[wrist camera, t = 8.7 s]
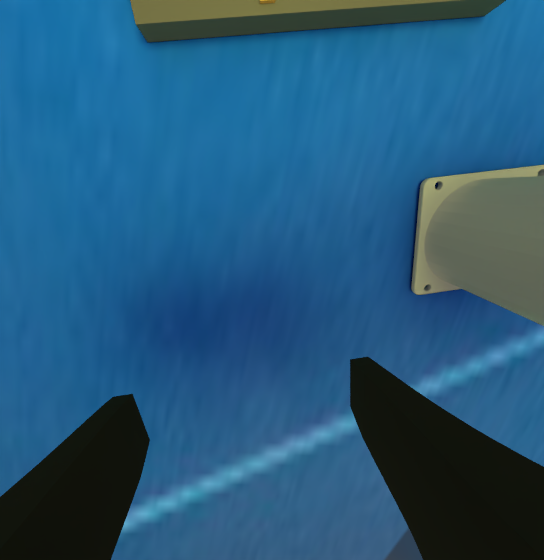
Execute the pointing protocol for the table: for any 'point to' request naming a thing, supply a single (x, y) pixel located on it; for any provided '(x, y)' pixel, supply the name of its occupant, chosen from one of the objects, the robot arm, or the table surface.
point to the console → (287, 15)
